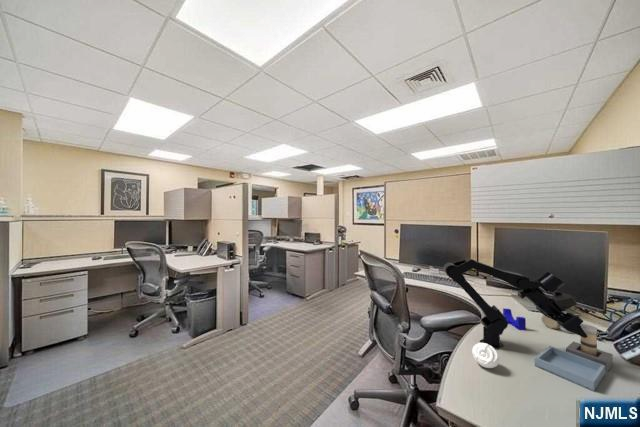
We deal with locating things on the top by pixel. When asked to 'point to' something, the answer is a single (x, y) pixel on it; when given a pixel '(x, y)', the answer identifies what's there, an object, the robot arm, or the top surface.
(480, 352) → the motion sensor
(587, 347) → the fuse
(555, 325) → the ceramic mug
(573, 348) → the fuse holder
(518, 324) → the blue angular block
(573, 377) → the parts tray
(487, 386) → the top surface
